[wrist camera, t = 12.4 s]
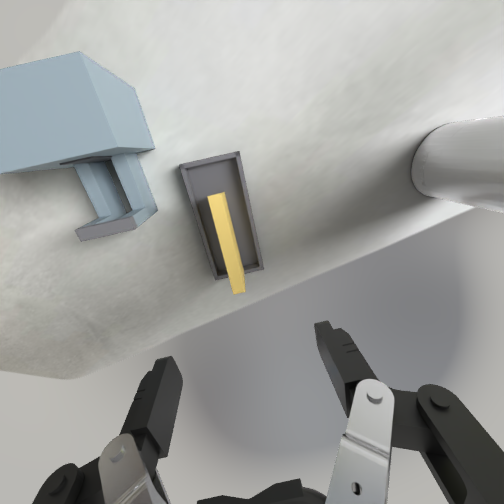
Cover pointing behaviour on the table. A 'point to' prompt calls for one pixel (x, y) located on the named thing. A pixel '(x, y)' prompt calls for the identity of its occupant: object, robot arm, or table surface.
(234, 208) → the tray
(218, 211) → the ticket
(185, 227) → the table surface
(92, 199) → the dispenser
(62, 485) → the robot arm
